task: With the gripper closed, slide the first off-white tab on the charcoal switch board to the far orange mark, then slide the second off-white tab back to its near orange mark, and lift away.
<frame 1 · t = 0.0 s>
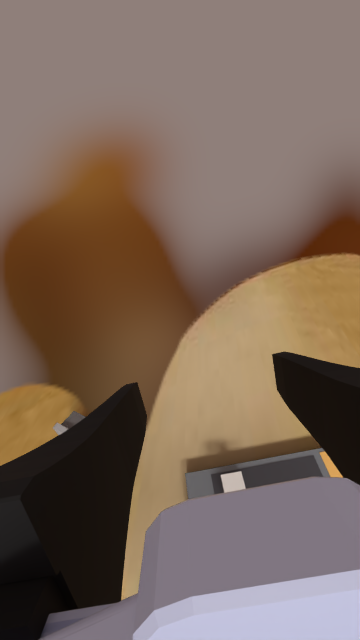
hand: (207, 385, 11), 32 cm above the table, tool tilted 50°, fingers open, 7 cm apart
switch board: (274, 513, 31), on the table
tab two: (233, 485, 31), point 4 cm above the table, slide at 5.0 cm
electrical switch: (98, 444, 40), on the table
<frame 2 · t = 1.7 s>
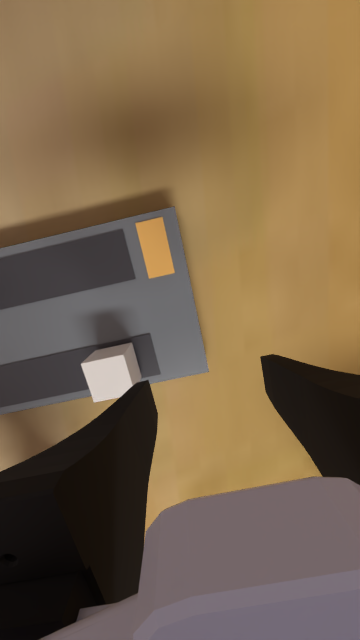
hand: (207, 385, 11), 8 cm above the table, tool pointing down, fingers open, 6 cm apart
switch board: (59, 322, 19), on the table
tab one: (114, 370, 16), point 4 cm above the table, slide at -5.0 cm
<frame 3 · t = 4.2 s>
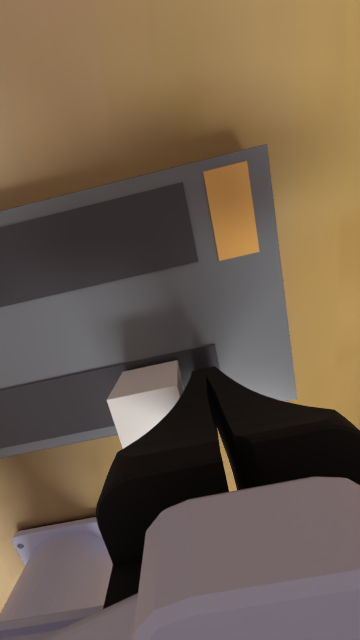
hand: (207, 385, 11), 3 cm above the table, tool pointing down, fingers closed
switch board: (77, 327, 13), on the table
tab one: (154, 405, 10), point 4 cm above the table, slide at -4.4 cm, touching gripper
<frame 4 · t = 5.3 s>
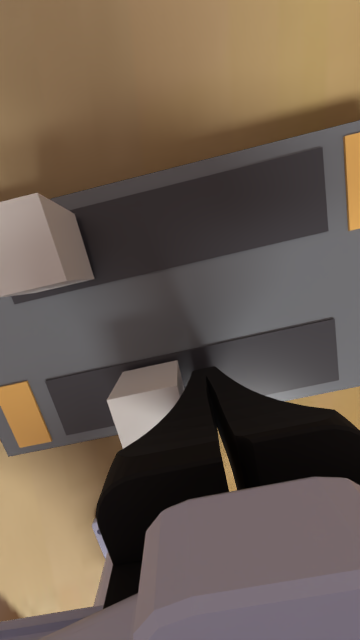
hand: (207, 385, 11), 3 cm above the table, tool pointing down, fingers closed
switch board: (176, 305, 13), on the table
tab one: (154, 405, 10), point 4 cm above the table, slide at 2.0 cm, touching gripper
tab two: (36, 252, 9), point 4 cm above the table, slide at 5.0 cm
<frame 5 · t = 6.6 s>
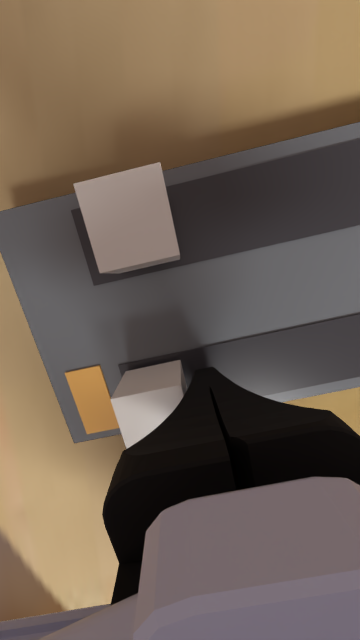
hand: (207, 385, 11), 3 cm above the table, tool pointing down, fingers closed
switch board: (244, 290, 13), on the table
tab one: (157, 404, 10), point 4 cm above the table, slide at 6.1 cm, touching gripper
tab two: (135, 228, 9), point 4 cm above the table, slide at 5.0 cm
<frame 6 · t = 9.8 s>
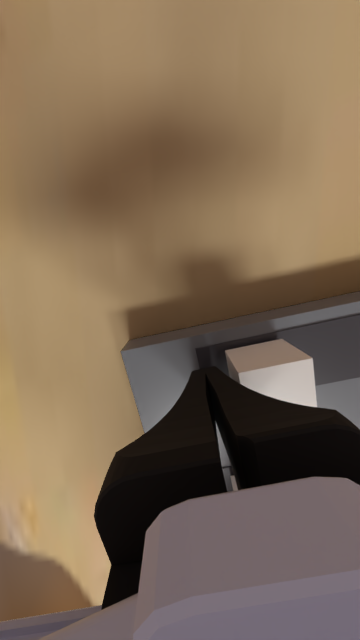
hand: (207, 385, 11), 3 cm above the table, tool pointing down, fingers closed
switch board: (325, 393, 14), on the table
tab one: (266, 514, 12), point 4 cm above the table, slide at 6.0 cm
tab two: (267, 382, 10), point 4 cm above the table, slide at 5.0 cm, touching gripper
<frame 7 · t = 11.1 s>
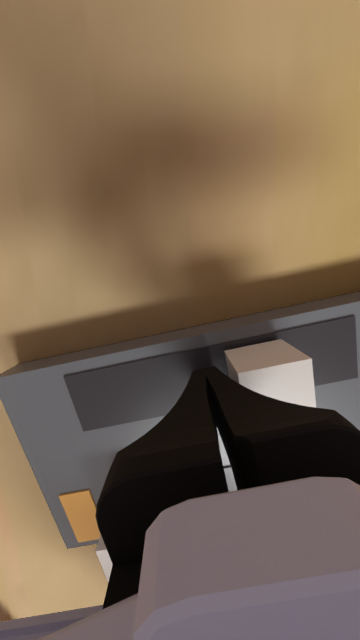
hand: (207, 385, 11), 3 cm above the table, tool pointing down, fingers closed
switch board: (217, 414, 15), on the table
tab one: (137, 537, 12), point 4 cm above the table, slide at 6.0 cm
tab two: (266, 383, 10), point 4 cm above the table, slide at -2.4 cm, touching gripper
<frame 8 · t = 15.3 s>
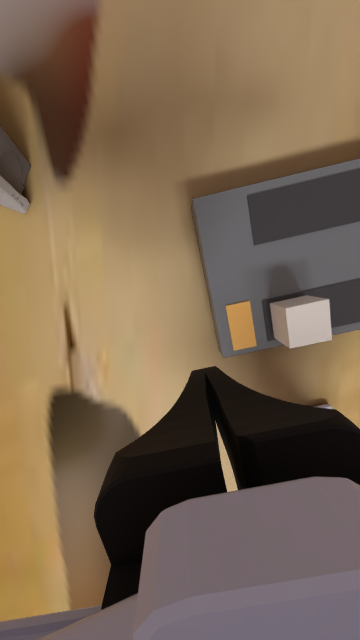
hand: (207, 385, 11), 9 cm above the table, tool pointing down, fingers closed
switch board: (339, 253, 19), on the table
tab one: (298, 320, 16), point 4 cm above the table, slide at 6.0 cm
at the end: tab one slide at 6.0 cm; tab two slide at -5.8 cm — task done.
